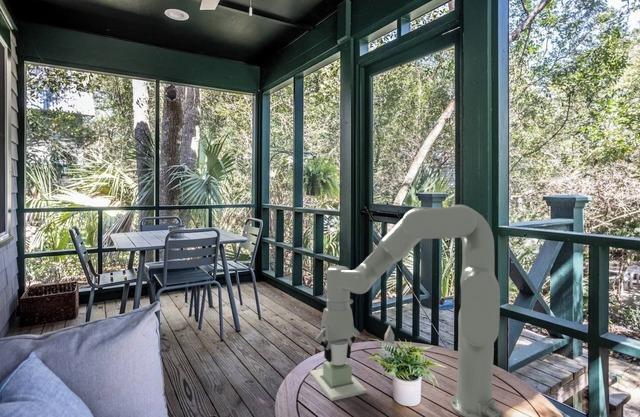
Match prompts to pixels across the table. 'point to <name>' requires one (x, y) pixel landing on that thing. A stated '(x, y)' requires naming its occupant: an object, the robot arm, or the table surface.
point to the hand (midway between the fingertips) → (337, 357)
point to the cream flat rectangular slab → (337, 387)
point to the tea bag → (389, 335)
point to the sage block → (337, 373)
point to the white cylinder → (338, 352)
